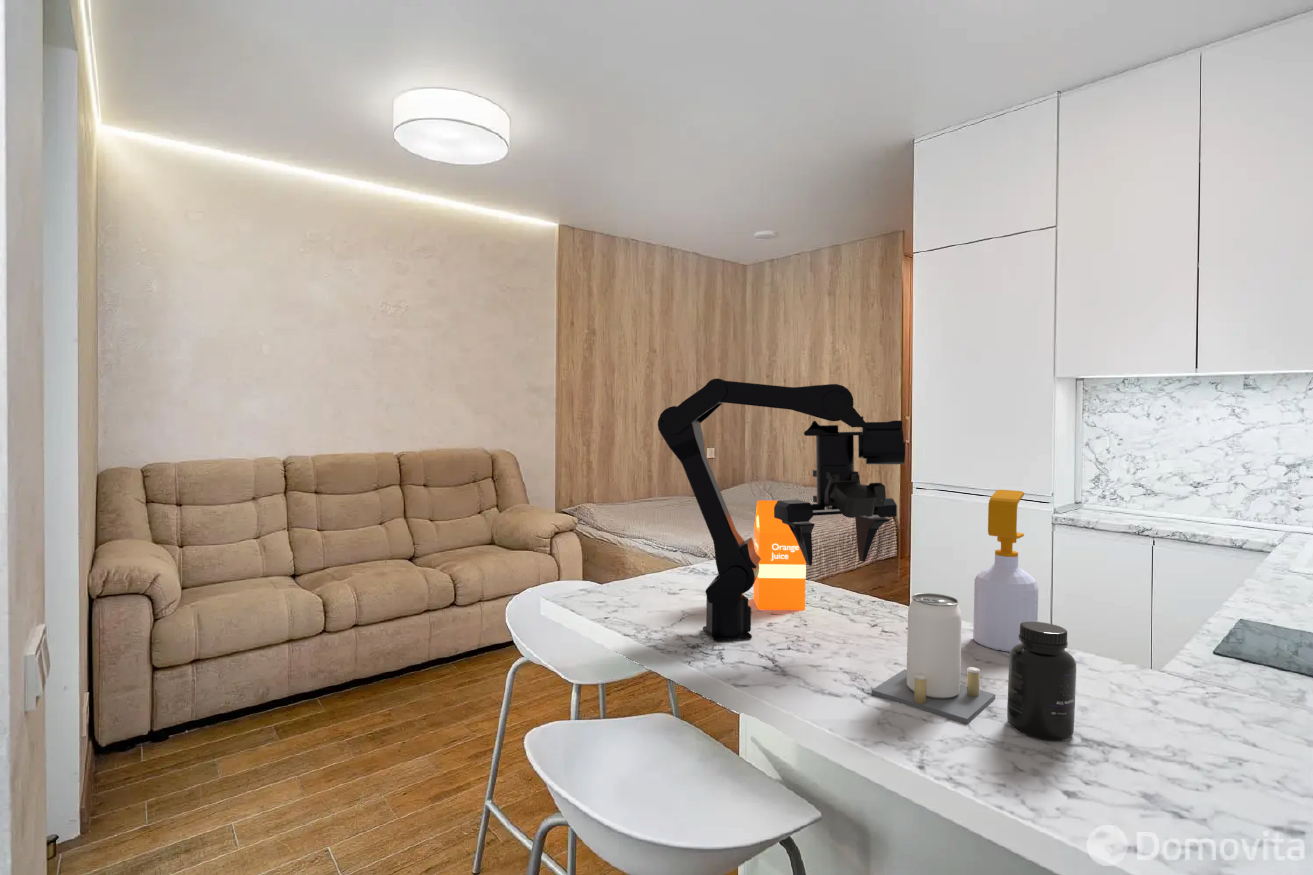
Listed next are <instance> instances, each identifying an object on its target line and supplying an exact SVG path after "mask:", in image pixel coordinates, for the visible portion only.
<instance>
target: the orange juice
mask: <svg viewBox="0 0 1313 875" xmlns="http://www.w3.org/2000/svg"><path fill="white" fill-rule="evenodd" d="M777 501H778V500H757V502H756V513H755V517H754V518H755V521H754V525H753V544H754V548H755V551H756V553H757V555H758V556H759V557H760V558H761V560H760V562H759V574H758V576H757V578H756V580H755V582H754V584H753V586H752V587H753V591H752V592H753V594H752V596H753V601H754V603H755V605H756V607H757V609H758V610H759V611H760V610H761V611H762V610H763V611H765V610H767V611H769V610H770V611H772V610H773V611H782V610H783V611H806V579H807V578H806V577H807V563H806V561H805V559H804V556H803V554H802V552H801V549H800V547H799V545H798V543H797V540H796V538H795V536H794V534H793V533H792V531H791V529H790V527H789V526H788V525H787V524H784V523H782V520H780V519H777V518H774V506H775V504H776V503H777Z"/></svg>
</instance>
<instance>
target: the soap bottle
mask: <svg viewBox="0 0 1313 875" xmlns="http://www.w3.org/2000/svg"><path fill="white" fill-rule="evenodd" d="M1024 495H1025V492H1024V491H1022V490H1015V489H1014V490H1012V489H997V490H996V491H994V492H993V494H991V496H990V498H989V500H988V506H987V507H988V509H987V510H988V511H987V512H988V513H987V516H988V518H987V523H988V524H987V535H989V536H992V537H996V539H997V540H996V541H997V542H999V543H1000V549H995V550H994V551H995V552H994V563H993V564H992V565H991V566H989V567H986V568H984V569H983V570H981V571H979V572H978V573H977V574H976V576H975V578H974V589H973V592H974V593H973V629H972V630H973V632H972V634H973V635H972V636H973V640H974V641H975V642H976V643H977V644H979V645H981V646H983V647H985V646H986V648H988V647H989V648H988V649H991V648H992V649H991V650H994V651H999V650H1001V651H1000V652H1005V653H1006V652H1007V653H1010V651H1011V649H1012V648H1013V647H1014V646H1016V645H1018V644H1020V643H1021V641H1020V640H1019V634H1020V624H1021V623H1022V622H1038V615H1039V614H1038V613H1039V610H1038V609H1039V585H1038V583H1037V581H1036V579H1035V578H1034V577H1033V576H1032V575H1031V574H1030V573H1028V572H1026V570H1023V569H1022V568H1021V567H1020V566H1019V552H1018V551H1016V550H1013V544H1016V543H1017V540H1019V539H1021V538H1023V537H1024V536H1025V534H1024V533H1023V532H1017V529H1018V528H1017V526H1018V525H1017V524H1018V523H1017V521H1018V505H1019V504H1020V503H1019V502H1021V500H1022V499H1023V497H1024Z"/></svg>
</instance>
